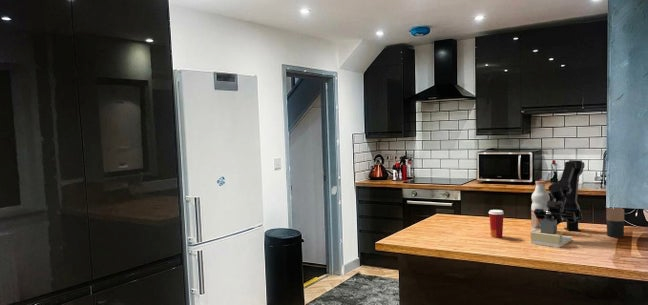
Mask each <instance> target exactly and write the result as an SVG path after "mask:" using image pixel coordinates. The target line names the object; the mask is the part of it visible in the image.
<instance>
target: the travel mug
mask: <svg viewBox="0 0 648 305" xmlns="http://www.w3.org/2000/svg"><path fill="white" fill-rule="evenodd" d="M606 235H607V237H609V238H612V239H613V238H615V239H622V238H624V235H625V208H624V209H623V208H614V209H613V208H607V207H606Z"/></svg>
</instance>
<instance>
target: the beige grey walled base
mask: <svg viewBox="0 0 648 305" xmlns="http://www.w3.org/2000/svg"><path fill="white" fill-rule="evenodd" d="M572 240H573V237H572V236H568V235H563V232H558V231H557V233H556V234H547V233H541V230H538V231H536V232H533V231H531V232H530V244H531V245H539V246H546V247H551V248H552V247H553V248H561V247H563V246H564V245H566V244H567V243H569V242H571V241H572Z"/></svg>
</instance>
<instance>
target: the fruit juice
mask: <svg viewBox="0 0 648 305" xmlns="http://www.w3.org/2000/svg"><path fill="white" fill-rule="evenodd" d="M550 196H551V195H550V194H549V193H548V191H547V187H546V180H535V189H534V191H533V192H532V194H531V202H532V203H531V205H530V206H531V207H530V211H531V212H530V213H531V232H536V231H538V230H541V221H540V220H541V219H537V218H536V216H535V214H534V210H535V209H543V210H544V212H546V211H548V207H547V201H551V200H550V199H551V198H550ZM548 212H549V211H548ZM545 218H546V216H545Z"/></svg>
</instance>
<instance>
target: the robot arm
mask: <svg viewBox="0 0 648 305" xmlns="http://www.w3.org/2000/svg"><path fill="white" fill-rule="evenodd" d="M585 165H586V164H585V162H583V160H581V159H580V160H579V159H576V160H575V159H574V160H573V159H572V160H571V159H570V160H567V161H565V162H564V168H563V171H562V175H561V177H560V179H559V180H557V181H554V183H552V184H550V185H549V186H548V192H549V193H550V194H549V195H550V196H551V198H552V200H549V201H547V207H548V211H549V212H548V211H546V212H544V210H543V209H535V210H534V214H535V216H536V218H537V219H543V218H545V216H546V218H547V219H556V220H557V226H558V225H560V224H562V223H563V222H564V219H566V227H563V228H564V230H567V231H568V232H574V231H575V232H577V231H578V232H579V231H580V232H581V231H582V230H581V229H580V228H579V221H582V220H583V214H582V212H581V209H580V208H581V206H580V205H579V203H578V192H579V184H580V183H579V182H580V176H581V175H583V174H582V173H583V172H584V169H585ZM566 196H567V197H566Z"/></svg>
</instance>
